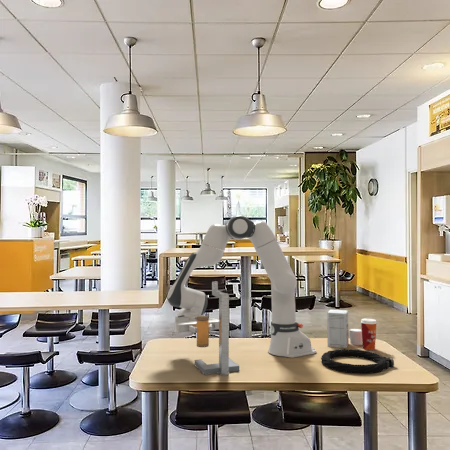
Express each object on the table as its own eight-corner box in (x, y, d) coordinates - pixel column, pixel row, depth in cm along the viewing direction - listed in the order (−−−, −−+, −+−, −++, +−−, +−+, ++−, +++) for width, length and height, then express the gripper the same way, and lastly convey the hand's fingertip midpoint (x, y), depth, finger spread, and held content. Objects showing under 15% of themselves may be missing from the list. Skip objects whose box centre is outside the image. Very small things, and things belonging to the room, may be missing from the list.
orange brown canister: (206, 343, 192) (206, 315, 192) (210, 346, 188) (210, 317, 188) (195, 344, 191) (195, 316, 191) (198, 347, 186) (198, 318, 186)
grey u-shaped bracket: (227, 361, 199) (227, 356, 199) (239, 370, 185) (239, 365, 185) (194, 364, 193) (194, 359, 193) (204, 374, 180) (204, 369, 180)
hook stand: (217, 365, 193) (217, 281, 193) (228, 374, 180) (228, 285, 180) (210, 365, 192) (210, 281, 192) (221, 375, 179) (221, 285, 179)
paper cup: (371, 351, 214) (371, 322, 214) (357, 348, 220) (357, 319, 220) (380, 348, 219) (380, 319, 219) (366, 345, 225) (366, 317, 225)
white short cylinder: (346, 342, 231) (346, 329, 231) (357, 341, 233) (357, 327, 233) (355, 346, 224) (355, 331, 224) (366, 344, 227) (366, 330, 227)
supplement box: (348, 343, 229) (349, 310, 229) (346, 348, 220) (346, 313, 220) (329, 341, 232) (329, 309, 232) (326, 346, 224) (326, 312, 224)
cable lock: (320, 346, 211) (388, 349, 205) (320, 354, 211) (388, 358, 205) (320, 363, 184) (399, 368, 178) (320, 373, 184) (399, 378, 178)
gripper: (215, 327, 205) (226, 334, 192) (171, 331, 198) (179, 339, 185) (215, 313, 205) (226, 319, 192) (171, 317, 198) (179, 323, 185)
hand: (203, 329), depth 188 cm, fingers closed on orange brown canister, 5 cm apart
